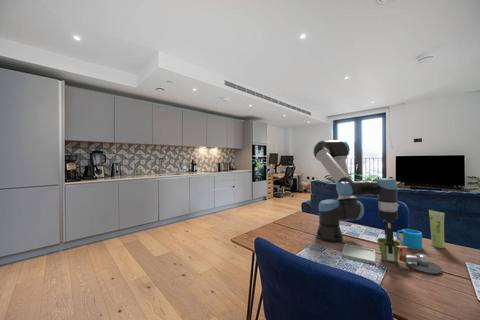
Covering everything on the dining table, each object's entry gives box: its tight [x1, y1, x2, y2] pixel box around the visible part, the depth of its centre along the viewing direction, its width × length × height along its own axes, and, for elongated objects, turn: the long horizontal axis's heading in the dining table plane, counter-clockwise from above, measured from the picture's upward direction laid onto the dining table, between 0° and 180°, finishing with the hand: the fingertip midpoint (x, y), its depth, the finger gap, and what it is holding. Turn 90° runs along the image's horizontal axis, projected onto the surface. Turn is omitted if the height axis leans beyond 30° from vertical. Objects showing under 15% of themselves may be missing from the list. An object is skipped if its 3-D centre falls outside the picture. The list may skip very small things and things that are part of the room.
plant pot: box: [376, 237, 402, 263], centre depth 94 cm, size 9×9×9 cm
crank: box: [397, 245, 430, 266], centre depth 87 cm, size 12×4×7 cm, turn 82°
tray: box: [341, 243, 376, 265], centre depth 99 cm, size 14×14×1 cm
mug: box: [395, 228, 423, 250], centre depth 109 cm, size 12×8×8 cm
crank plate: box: [404, 260, 443, 276], centre depth 87 cm, size 12×12×1 cm
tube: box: [428, 209, 445, 249], centre depth 107 cm, size 6×5×20 cm
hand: (389, 254), depth 93 cm, fingers open, 13 cm apart
